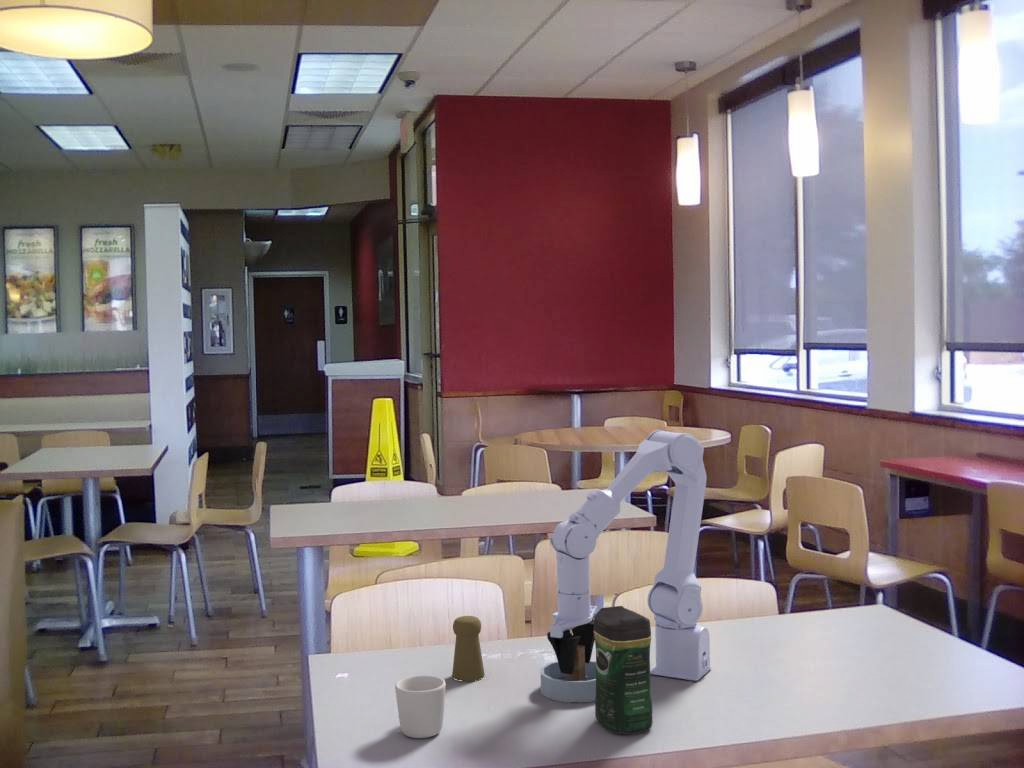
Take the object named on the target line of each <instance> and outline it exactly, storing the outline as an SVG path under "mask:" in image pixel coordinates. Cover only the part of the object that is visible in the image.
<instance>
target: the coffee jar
mask: <svg viewBox="0 0 1024 768" xmlns="http://www.w3.org/2000/svg"><path fill="white" fill-rule="evenodd" d="M593 620H594V638H595V641H594V645H595V661H596V698H595V701H594V702H595V703H594V704H595V705H594V706H595V707H594V708H595V711H594V712H595V713H594V715H595V716H594V717H595V719H596V721H597V722H598V723H599V724H600V725H601V726H602V727H603V728H605V729H606V730H607V731H609V732H612V733H614V734H629V735H638V734H640V733H643V732H644V731H647V730H649V729H651V728H652V727H653V723H654V722H653V700H652V698H653V697H652V685H651V674H650V669H651V657H650V656H651V655H650V654H651V653H650V652H651V642H652V630H651V629H652V628H651V621H650V619H649V618H647V617H645V616H644V615H641V614H640V613H637V612H636V611H633V610H631V609H629V608H625V606H623V605H619V606H618V605H617V606H616V605H615V606H607V607H602V608H600V609H599V610H597V613H596V615H595V618H593Z"/></svg>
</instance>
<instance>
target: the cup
mask: <svg viewBox="0 0 1024 768" xmlns="http://www.w3.org/2000/svg"><path fill="white" fill-rule="evenodd" d="M394 687H395V688H394V689H395V695H396V696H395V697H396V705H397V706H396V707H397V710H398V719H399V726H400V729H401V732H402V733H403V734H404V735H405V736H407V737H410V738H413V739H426V738H431V737H434V736H436V735H437V734H439V733H440V732H441V730H442V728H443V724H444V714H445V703H446V702H445V701H446V687H447V683H446V681H445V679H443V678H441V677H439V676H435V675H429V674H428V675H426V674H425V675H412V676H408V677H405V678H402V679H400V680H398V681H397V682H396V683H395V686H394Z"/></svg>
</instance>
